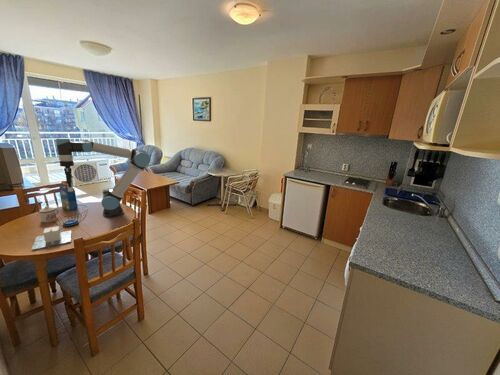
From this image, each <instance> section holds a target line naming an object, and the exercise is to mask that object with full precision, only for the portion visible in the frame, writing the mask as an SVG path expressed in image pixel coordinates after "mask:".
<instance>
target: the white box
mask: <svg viewBox="0 0 500 375" xmlns="http://www.w3.org/2000/svg"><path fill="white" fill-rule="evenodd" d="M60 229H61V228H60V226H59V225H58V226H53V227H52V226H51V227H45V228H44V230H43V235H44V238H45V243H47V242H52V241H57V240H60V237H61V234H60V232H61V231H60Z"/></svg>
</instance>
